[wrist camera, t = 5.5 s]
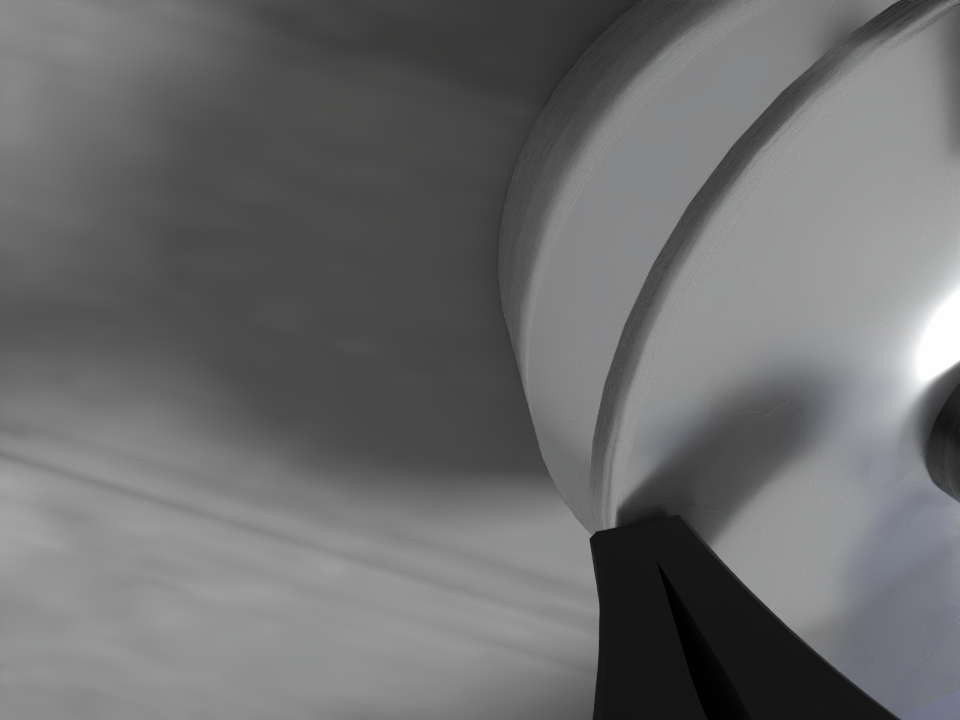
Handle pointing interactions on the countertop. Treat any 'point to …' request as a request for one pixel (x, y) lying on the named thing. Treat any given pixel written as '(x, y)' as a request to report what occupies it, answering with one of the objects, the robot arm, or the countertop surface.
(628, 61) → the pot
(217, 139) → the countertop surface
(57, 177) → the countertop surface
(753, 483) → the lid
